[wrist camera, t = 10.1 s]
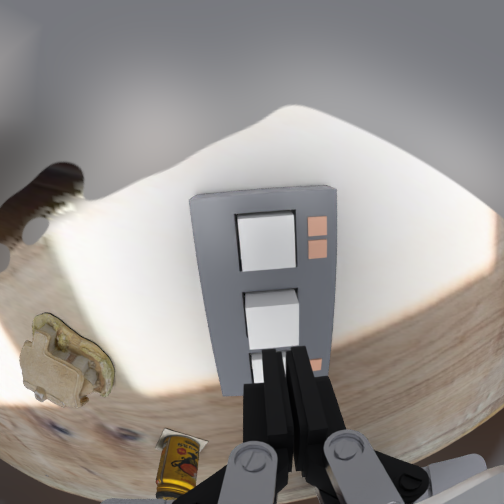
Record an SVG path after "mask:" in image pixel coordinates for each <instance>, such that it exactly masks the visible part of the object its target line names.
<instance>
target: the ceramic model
mask: <svg viewBox="0 0 504 504" xmlns="http://www.w3.org/2000/svg"><path fill="white" fill-rule="evenodd" d="M32 330H33V341H32V342H30V341H28V340H26V341H25V343H24V346H23V348H22V350H21V354H20V360H19V361H20V366H21V369H22V375H23V384H24V386H25V387H26V388H27V389H30V390H31V391H33V392H34V393H35V397H36V399H37V400H39V401H40V402H43V401H45V400H46V399H48V400H50V401H51V402H53V403H55V404H57V405H59V406H61V407H63V408H64V407H76V408H79V407H82V406H83V405H84V404H86V403H87V402H88V401H89V398H88V397H86V396H87V395H88V394H90V393H92V392H94V393H97V394H100V396H102V397H108V395H109V393H111V390H112V385H113V380H114V368H113V365H112V363H111V361H110V359H109V358H108V356H107V355H106V354H105V353H104V352H103V351H102V350H101V349H100V348H99V347H98V346H97V345H95V344H94V343H92V342H90V341H88V340H86V339H84V338H82V337H80V336H79V335H78V334H77V333H75V332H74V331H73V330H71V329H70V328H68V327H67V326H66V325H65V324H64V323H63V322H61V321H60V320H59V319H57V318H56V317H54V316H52V315H50V314H47V313H46V314H45V313H44V314H41V315H38V316H36V317H35V318H34V320H33V323H32Z"/></svg>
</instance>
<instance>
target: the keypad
mask: <svg viewBox="0 0 504 504" xmlns="http://www.w3.org/2000/svg"><path fill="white" fill-rule="evenodd" d="M189 205H190V213H191V220H192V228H193V235H194V242H195V249H196V256H197V263H198V269H199V275H200V282H201V288H202V294H203V299H204V305H205V311H206V316H207V322H208V327H209V332H210V337H211V343H212V348H213V353H214V357H215V362H216V367H217V372H218V376H219V381H220V385H221V390H222V394H223V396H243V386H244V384H249V383H254V376H253V369H252V366H251V357H250V353H259V352H262V349H253V350H250V347H249V338H248V328H247V321H246V311H245V302H244V292H253V291H265V290H277V289H288V288H294V290H295V293H296V296H297V299H298V302H299V345H297V346H306V349H307V353H308V356H309V360H310V363H311V367H312V370H313V374H314V377H320V376H328V371H329V362H330V352H331V342H332V331H333V318H334V303H335V284H336V256H337V193H336V189H335V188H332V187H330V186H327V185H323V186H301V187H283V188H268V189H254V190H242V191H231V192H220V193H210V194H201V195H195V196H194V197H192V198H191V199H190V200H189ZM278 210H291V212H292V213H293V215H294V232H295V263H296V267H293V268H281V269H269V270H257V271H245V272H243V271H242V260H241V259H240V252H239V242H238V232H237V221H236V214H240V213H252V212H264V211H278ZM291 347H296V346H287V347H277V348H266V349H276V351H282V350H291Z"/></svg>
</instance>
